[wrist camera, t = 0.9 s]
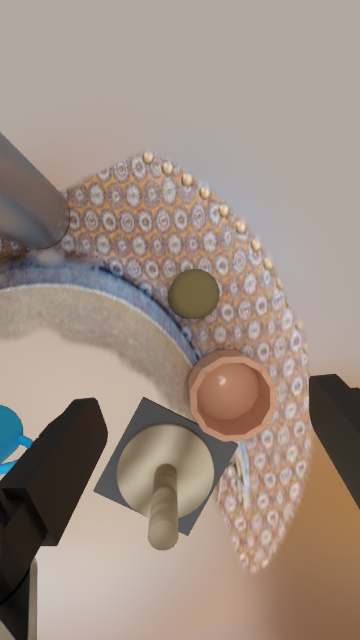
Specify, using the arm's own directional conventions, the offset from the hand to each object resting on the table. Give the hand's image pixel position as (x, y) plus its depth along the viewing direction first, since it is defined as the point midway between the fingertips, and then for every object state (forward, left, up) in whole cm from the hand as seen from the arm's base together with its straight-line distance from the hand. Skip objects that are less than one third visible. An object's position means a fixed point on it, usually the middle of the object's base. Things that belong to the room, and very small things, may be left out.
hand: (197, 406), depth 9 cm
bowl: (+10, -4, -25) cm, 27 cm away
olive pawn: (-1, +5, -25) cm, 26 cm away
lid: (+8, -19, -25) cm, 32 cm away
